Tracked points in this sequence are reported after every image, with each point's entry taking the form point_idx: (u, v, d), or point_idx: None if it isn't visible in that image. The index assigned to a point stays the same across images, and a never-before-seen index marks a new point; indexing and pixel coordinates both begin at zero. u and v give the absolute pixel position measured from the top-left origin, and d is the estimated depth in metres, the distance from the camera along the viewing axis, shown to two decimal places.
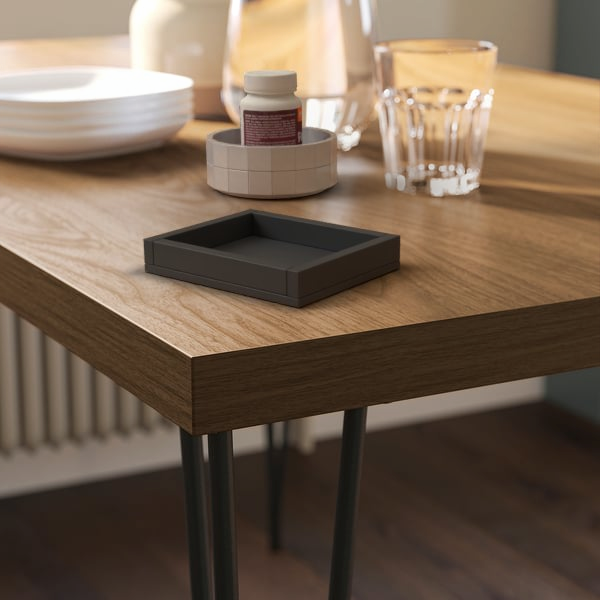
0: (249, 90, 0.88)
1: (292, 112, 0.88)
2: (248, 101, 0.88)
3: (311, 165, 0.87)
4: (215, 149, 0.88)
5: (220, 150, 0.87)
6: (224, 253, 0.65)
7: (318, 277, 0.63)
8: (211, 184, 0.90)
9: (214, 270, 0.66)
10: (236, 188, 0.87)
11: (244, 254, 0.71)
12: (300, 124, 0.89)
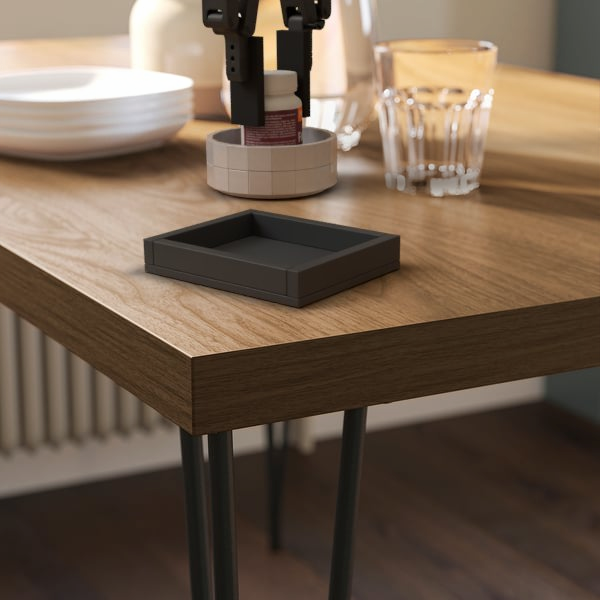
0: None
1: (292, 112, 0.88)
2: None
3: (311, 165, 0.87)
4: (215, 149, 0.88)
5: (220, 150, 0.87)
6: (224, 253, 0.65)
7: (318, 277, 0.63)
8: (211, 184, 0.90)
9: (214, 270, 0.66)
10: (236, 188, 0.87)
11: (244, 254, 0.71)
12: (300, 124, 0.89)
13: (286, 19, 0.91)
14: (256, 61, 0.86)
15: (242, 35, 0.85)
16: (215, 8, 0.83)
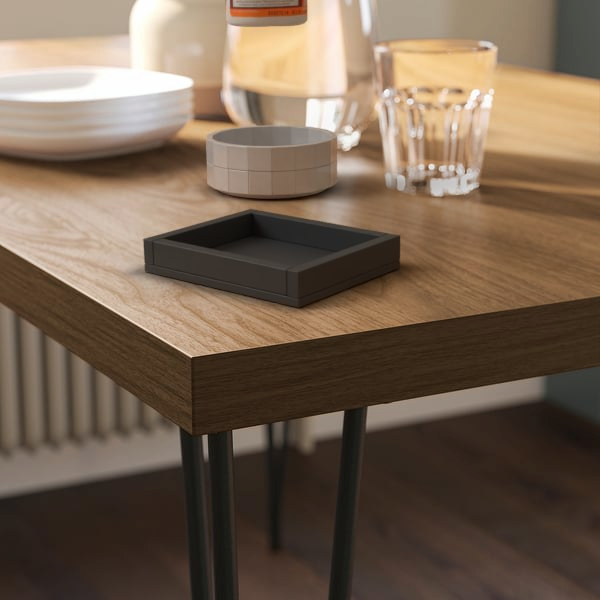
0: None
1: None
2: None
3: (311, 165, 0.87)
4: (215, 149, 0.88)
5: (220, 150, 0.87)
6: (224, 253, 0.65)
7: (318, 277, 0.63)
8: (211, 184, 0.90)
9: (214, 270, 0.66)
10: (236, 188, 0.87)
11: (244, 254, 0.71)
12: None
13: None
14: None
15: None
16: None
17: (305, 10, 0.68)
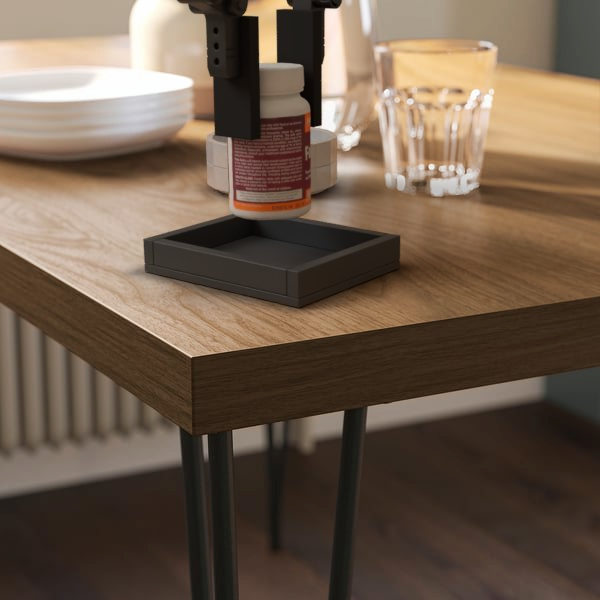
0: None
1: (297, 120, 0.65)
2: None
3: (311, 165, 0.87)
4: (215, 149, 0.88)
5: (220, 150, 0.87)
6: (224, 253, 0.65)
7: (318, 277, 0.63)
8: (211, 184, 0.90)
9: (214, 270, 0.66)
10: None
11: (244, 254, 0.71)
12: (308, 136, 0.66)
13: None
14: (249, 50, 0.62)
15: (229, 14, 0.61)
16: None
17: (309, 200, 0.67)
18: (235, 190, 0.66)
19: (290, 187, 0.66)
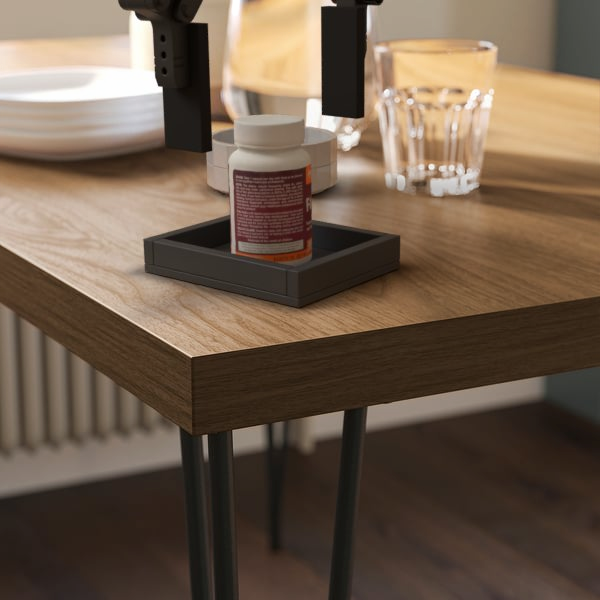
0: (241, 143, 0.66)
1: (298, 173, 0.66)
2: (240, 158, 0.66)
3: (311, 165, 0.87)
4: (215, 149, 0.88)
5: (220, 150, 0.87)
6: (224, 253, 0.65)
7: (318, 277, 0.63)
8: (211, 184, 0.90)
9: (214, 270, 0.66)
10: None
11: None
12: (309, 187, 0.67)
13: None
14: (198, 59, 0.59)
15: (173, 17, 0.58)
16: None
17: (310, 250, 0.68)
18: (237, 241, 0.67)
19: (291, 238, 0.67)
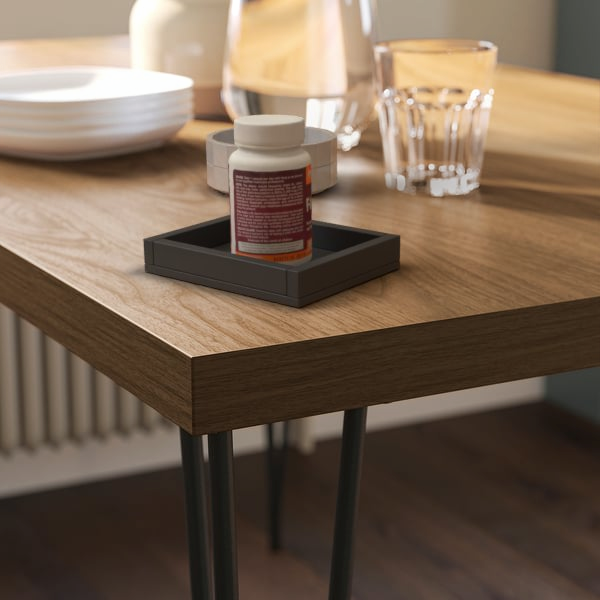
0: (241, 143, 0.66)
1: (298, 173, 0.66)
2: (240, 158, 0.66)
3: (311, 165, 0.87)
4: (215, 149, 0.88)
5: (220, 150, 0.87)
6: (224, 253, 0.65)
7: (318, 277, 0.63)
8: (211, 184, 0.90)
9: (214, 270, 0.66)
10: None
11: None
12: (309, 187, 0.67)
13: None
14: None
15: None
16: None
17: (310, 250, 0.68)
18: (237, 241, 0.67)
19: (291, 238, 0.67)
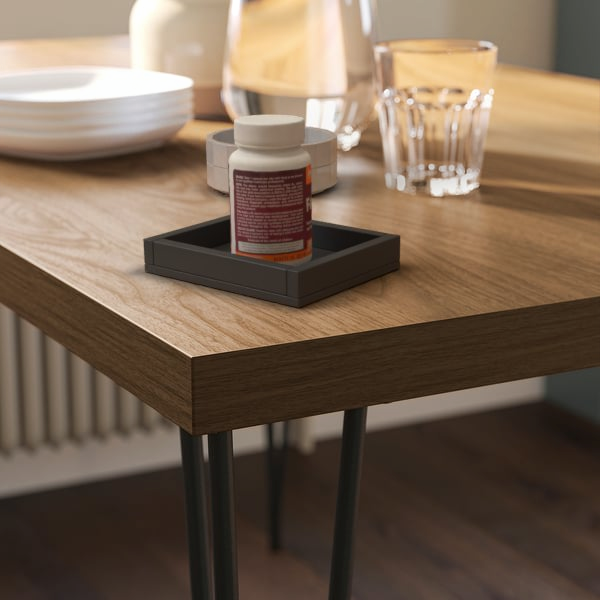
0: (241, 143, 0.66)
1: (298, 173, 0.66)
2: (240, 158, 0.66)
3: (311, 165, 0.87)
4: (215, 149, 0.88)
5: (220, 150, 0.87)
6: (224, 253, 0.65)
7: (318, 277, 0.63)
8: (211, 184, 0.90)
9: (214, 270, 0.66)
10: None
11: None
12: (309, 187, 0.67)
13: None
14: None
15: None
16: None
17: (310, 250, 0.68)
18: (237, 241, 0.67)
19: (291, 238, 0.67)
